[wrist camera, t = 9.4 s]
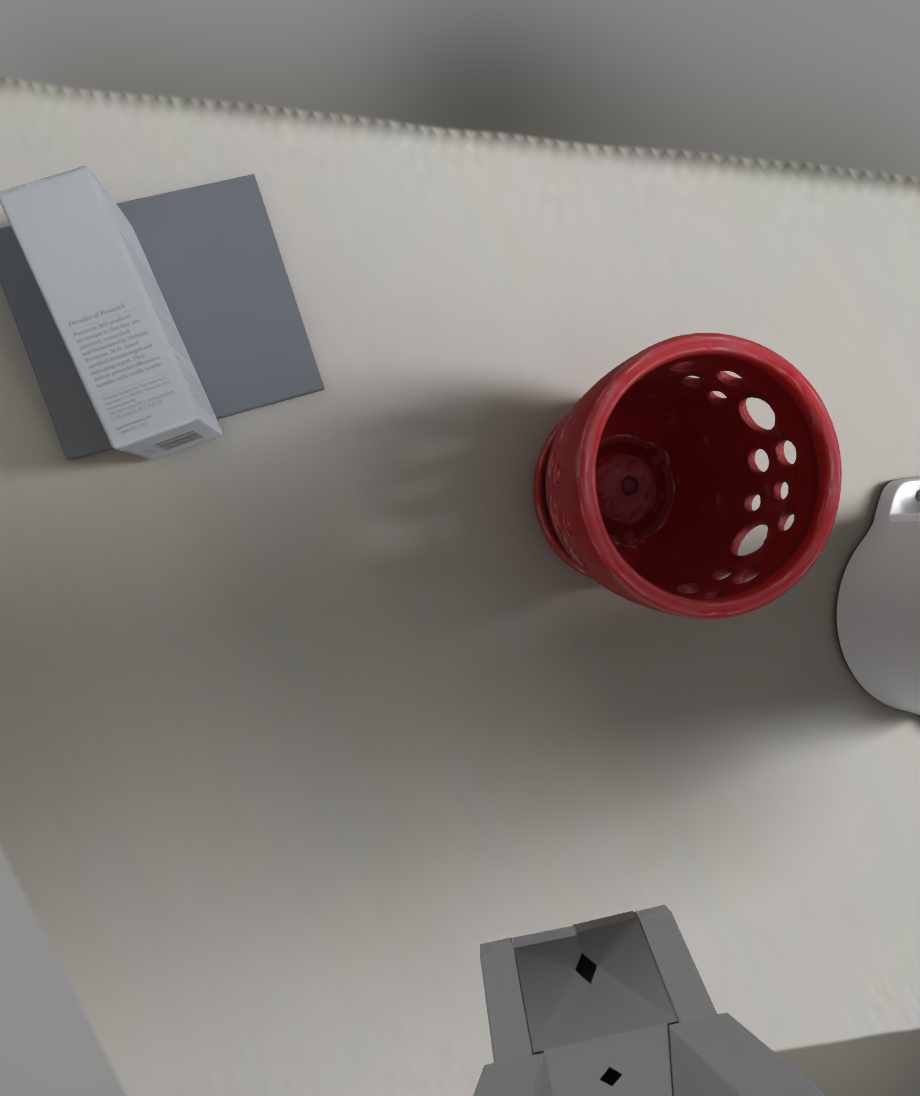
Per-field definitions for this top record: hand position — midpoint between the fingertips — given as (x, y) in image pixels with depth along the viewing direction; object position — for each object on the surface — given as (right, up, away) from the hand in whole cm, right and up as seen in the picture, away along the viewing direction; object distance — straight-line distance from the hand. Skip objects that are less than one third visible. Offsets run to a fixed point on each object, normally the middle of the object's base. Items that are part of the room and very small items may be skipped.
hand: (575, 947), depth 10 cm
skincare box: (-16, +11, +22) cm, 29 cm away
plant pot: (+7, +10, +30) cm, 33 cm away
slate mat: (-18, +19, +25) cm, 36 cm away
